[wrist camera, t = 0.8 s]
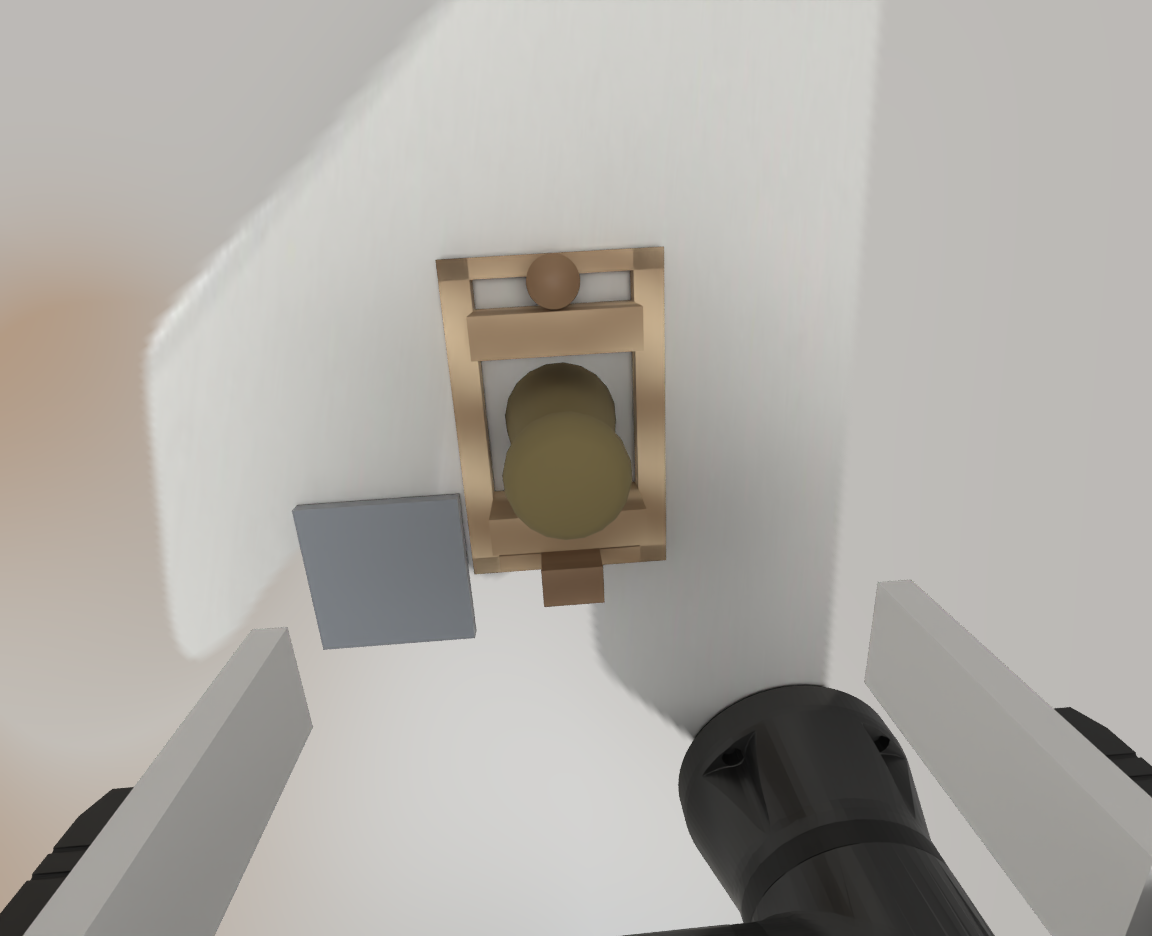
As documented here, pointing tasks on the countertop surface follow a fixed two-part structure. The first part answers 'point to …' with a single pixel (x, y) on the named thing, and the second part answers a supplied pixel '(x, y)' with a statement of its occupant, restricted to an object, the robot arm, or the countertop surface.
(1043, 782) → the robot arm
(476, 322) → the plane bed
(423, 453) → the countertop surface
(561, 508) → the cork
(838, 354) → the countertop surface
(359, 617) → the slate coaster
